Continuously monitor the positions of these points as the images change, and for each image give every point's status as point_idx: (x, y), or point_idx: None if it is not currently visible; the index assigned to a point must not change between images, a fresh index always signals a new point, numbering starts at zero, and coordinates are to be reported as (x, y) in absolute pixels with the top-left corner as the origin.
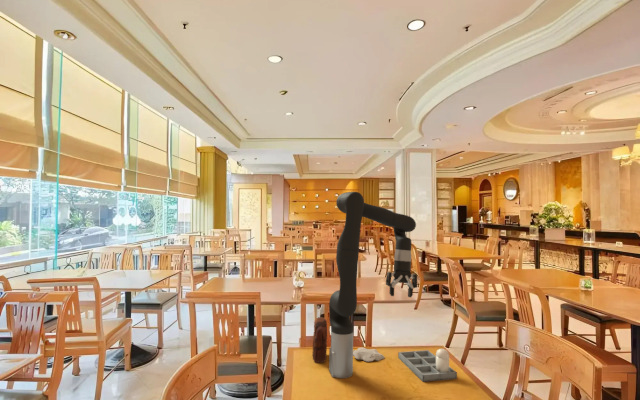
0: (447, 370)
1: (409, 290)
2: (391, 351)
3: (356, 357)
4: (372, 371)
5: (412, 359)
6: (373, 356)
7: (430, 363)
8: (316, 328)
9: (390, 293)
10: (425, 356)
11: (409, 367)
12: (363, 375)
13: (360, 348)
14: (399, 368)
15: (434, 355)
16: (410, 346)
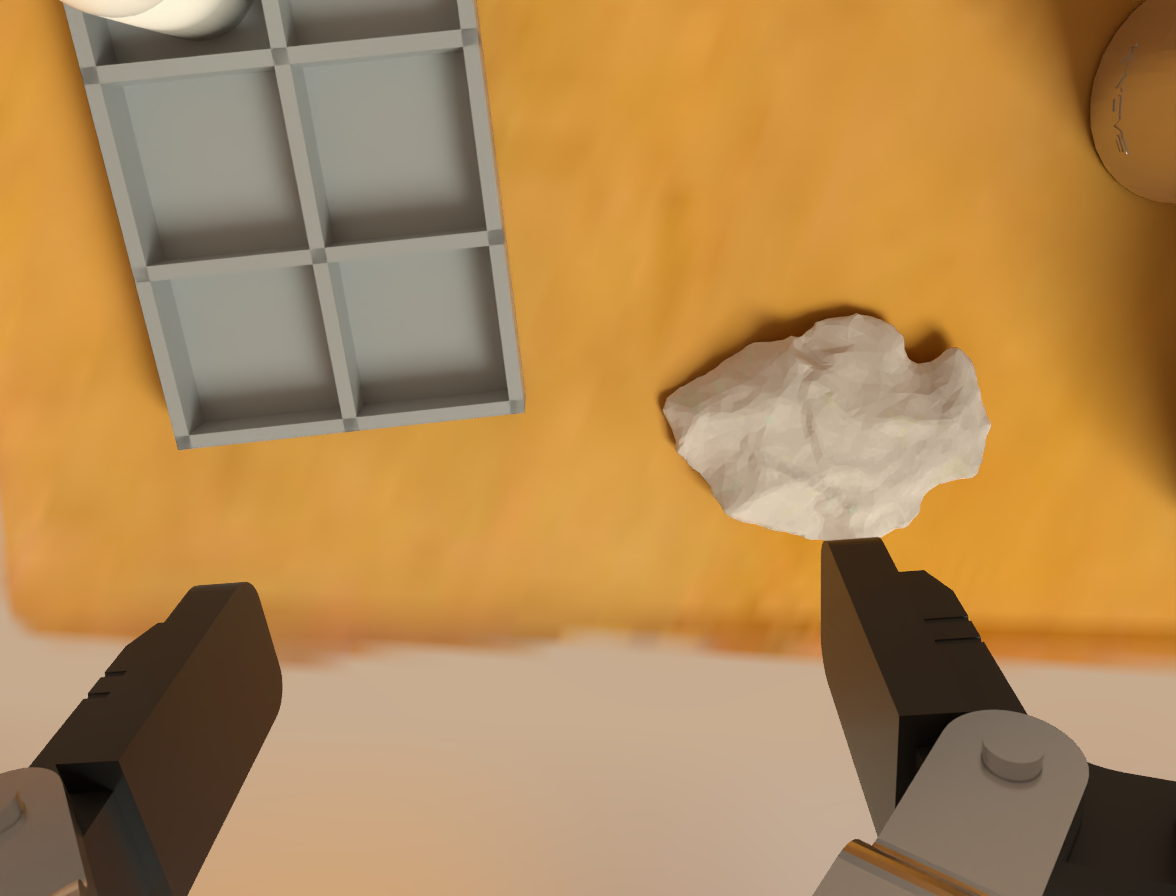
0: None
1: (175, 768)
2: (545, 544)
3: (970, 365)
4: (884, 113)
5: (427, 235)
6: (805, 357)
7: (238, 221)
8: None
9: (948, 611)
10: (237, 390)
11: (493, 143)
12: (1001, 32)
13: (905, 491)
14: (593, 161)
15: (148, 310)
16: (313, 649)
